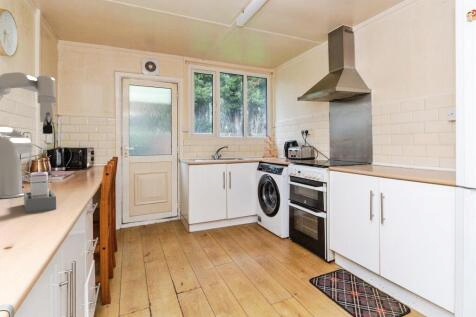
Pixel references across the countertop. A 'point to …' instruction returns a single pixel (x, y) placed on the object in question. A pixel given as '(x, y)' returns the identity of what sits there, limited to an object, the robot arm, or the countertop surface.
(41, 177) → the syrup box
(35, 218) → the countertop surface
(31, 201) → the holder
